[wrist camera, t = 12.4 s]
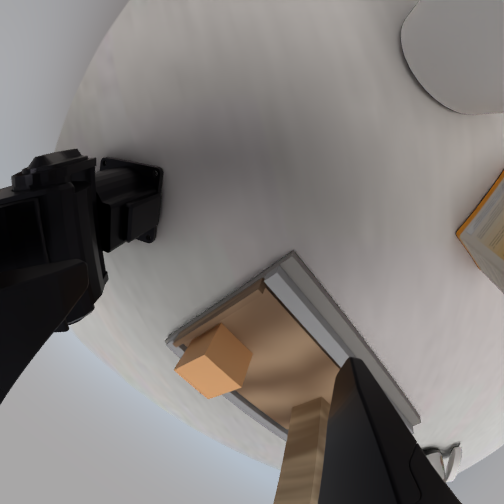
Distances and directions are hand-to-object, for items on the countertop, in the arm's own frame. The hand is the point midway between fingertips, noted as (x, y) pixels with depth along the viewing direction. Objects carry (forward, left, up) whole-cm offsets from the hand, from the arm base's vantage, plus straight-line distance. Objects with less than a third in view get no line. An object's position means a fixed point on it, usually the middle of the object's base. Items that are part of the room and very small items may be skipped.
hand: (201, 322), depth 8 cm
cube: (-1, -12, -11) cm, 17 cm away
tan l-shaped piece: (+5, -14, -12) cm, 19 cm away
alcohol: (+10, +16, -13) cm, 23 cm away
